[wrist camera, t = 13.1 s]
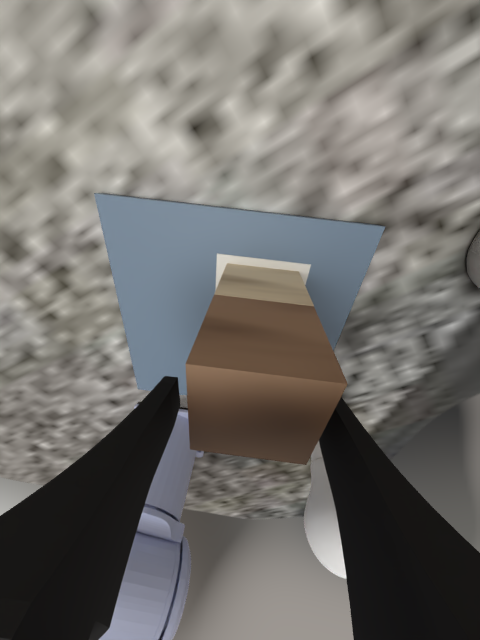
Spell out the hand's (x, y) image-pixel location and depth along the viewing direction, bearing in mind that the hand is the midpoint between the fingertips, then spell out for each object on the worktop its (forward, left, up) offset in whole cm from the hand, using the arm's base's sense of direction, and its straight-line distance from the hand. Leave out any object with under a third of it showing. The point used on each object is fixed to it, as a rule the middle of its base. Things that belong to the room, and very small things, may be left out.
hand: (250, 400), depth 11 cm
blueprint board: (-2, +2, -9) cm, 9 cm away
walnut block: (+2, 0, -3) cm, 3 cm away
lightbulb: (-17, -10, -9) cm, 21 cm away
